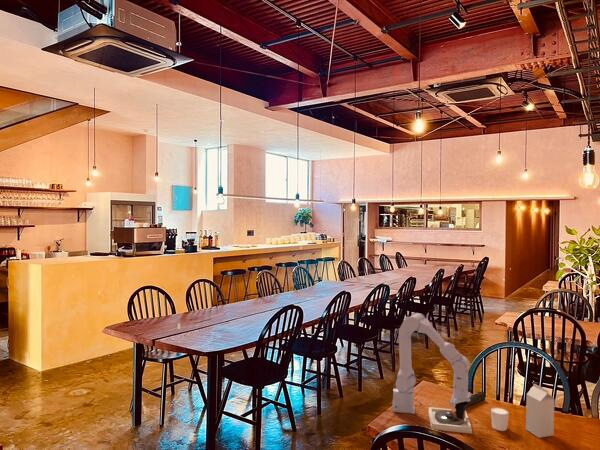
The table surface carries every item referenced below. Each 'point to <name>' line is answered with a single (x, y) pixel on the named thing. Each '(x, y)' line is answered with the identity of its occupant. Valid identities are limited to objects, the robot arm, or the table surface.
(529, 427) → the milk carton
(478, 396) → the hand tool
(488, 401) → the table surface
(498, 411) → the white cylinder
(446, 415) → the dial
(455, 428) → the dial plate
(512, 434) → the table surface
